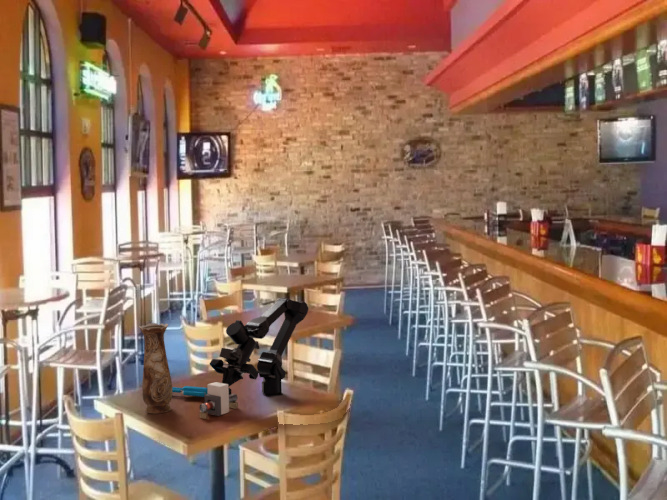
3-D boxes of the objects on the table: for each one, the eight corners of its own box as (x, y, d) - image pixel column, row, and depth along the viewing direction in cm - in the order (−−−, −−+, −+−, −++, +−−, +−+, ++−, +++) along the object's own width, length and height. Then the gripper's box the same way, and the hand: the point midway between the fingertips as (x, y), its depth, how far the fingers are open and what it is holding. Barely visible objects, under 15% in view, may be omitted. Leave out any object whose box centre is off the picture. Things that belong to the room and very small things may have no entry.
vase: (164, 415, 275) (161, 328, 273) (136, 413, 278) (133, 327, 276) (178, 407, 285) (175, 323, 283) (150, 405, 288) (148, 322, 286)
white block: (216, 409, 281) (215, 381, 280) (229, 412, 277) (228, 384, 276) (208, 412, 277) (207, 384, 277) (221, 414, 274) (220, 386, 273)
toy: (152, 398, 299) (226, 404, 289) (152, 383, 298) (226, 389, 289) (163, 392, 306) (235, 398, 297) (163, 378, 306) (235, 383, 296)
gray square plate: (207, 412, 278) (207, 394, 277) (221, 414, 274) (220, 396, 273) (204, 413, 276) (204, 395, 276) (218, 415, 273) (217, 397, 272)
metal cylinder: (231, 406, 285) (231, 392, 285) (237, 407, 283) (237, 394, 283) (199, 417, 272) (199, 403, 272) (206, 419, 270) (205, 404, 270)
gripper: (212, 336, 287) (190, 372, 279) (252, 341, 276) (231, 379, 268) (227, 354, 294) (207, 390, 286) (267, 360, 283) (247, 397, 275)
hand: (222, 389), depth 279 cm, fingers closed, pressing on white block
